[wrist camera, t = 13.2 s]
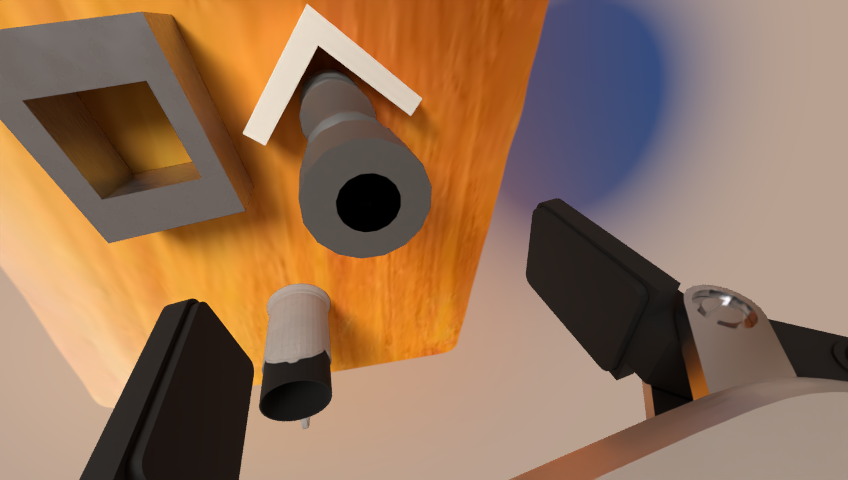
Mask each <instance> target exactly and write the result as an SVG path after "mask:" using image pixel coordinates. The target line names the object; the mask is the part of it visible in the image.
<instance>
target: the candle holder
mask: <svg viewBox="0 0 848 480" xmlns="http://www.w3.org/2000/svg"><path fill="white" fill-rule="evenodd" d="M300 103H301V110H300V114H299V117H300V123H301V129H302V132H303V134H304V136H305V137H306V139H307V141H308V143H307V147H306V150H305V154H304V158H303V161H302V165H301V169H300V180H299V203H300V208H301V213H302V218H303V223H304V225H305V226H306V227H307V229H308V230H309V231H310V233H311V234H312V235H313V237H314V238H315V239H316V241H317V242H318V243H320V244H321V245H323V246H325V247H327V248H328V249H330V250H332V251H333V252H335V253H337V254H339V255H345V256H350V257H356V258H368V257H374V256H381V255H385V254H387V253H389V252H392V251H394V250H396V249H398V248H400V247H402V246H404V245H405V244H406V243H407V242H408V241H409V240H410V239H411V238H412V237H413V236H414V235H415V234H416V233H417V232H418V231H419V230H420V229H421V228H422V226H423V223H424V221H425V219H426V217H427V215H428V213H429V211H430V205H431V184H430V182H429V179H428V176H427V174H426V171H425V169H424V166H423V164H422V163H421V162H420V161H419V160H418V159H417V157H416V156H415V155H414V154H413V153H412V152H411V151H410V149H409V148H408V147H407V146H406V145H405V144H404V143H403V142H402V141H401V140H400V139H399V138H398V137H397V136H396V135H395V134H394V133H393V132H392V131H391V130H390V129H389V128H386V127H384V126H382V125H381V124H380V123H379V122H378V121H377V120H376V113H375V111H374V109H373V106H372V104H371V102H370V100H369V99H368V98H367V97H366V96H365V95H364V94H363V93H362V92H361V91H360V89H359V87H358V86H357V85H356V84H355V83H354V82H353V81H352V80H351V79H350V78H349V77H348V76H347V75H346V74H344V73H341V72H339V71H337V70H335V69H321V70H319V71H317V72H315V73H313V74H311V75H310V76H309V78H308V79H307V80H306V81H305V83H304V84H303V88H302V92H301V97H300Z"/></svg>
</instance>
